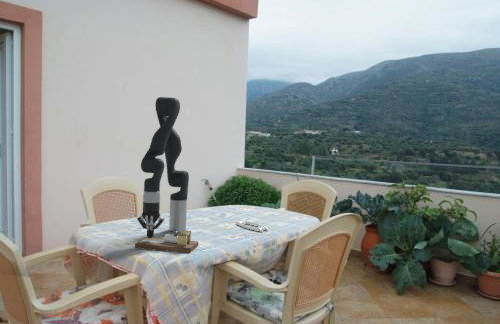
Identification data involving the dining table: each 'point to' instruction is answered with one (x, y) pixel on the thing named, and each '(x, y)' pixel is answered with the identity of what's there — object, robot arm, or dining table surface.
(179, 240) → the keeper
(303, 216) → the dining table surface
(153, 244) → the door panel
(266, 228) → the door handle
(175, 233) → the bolt
